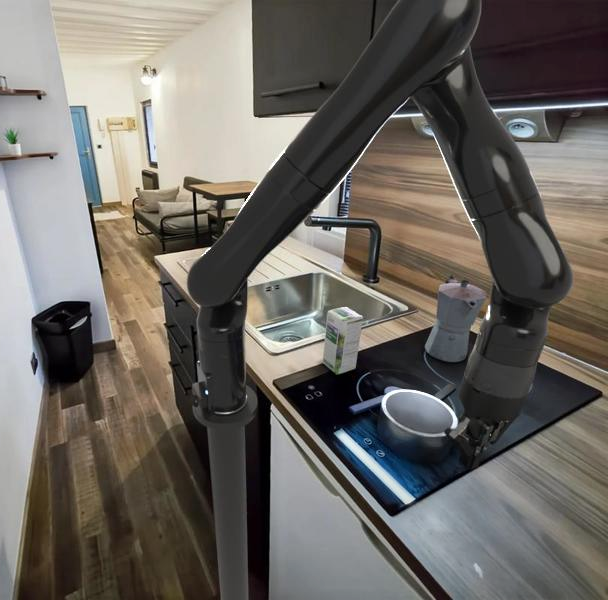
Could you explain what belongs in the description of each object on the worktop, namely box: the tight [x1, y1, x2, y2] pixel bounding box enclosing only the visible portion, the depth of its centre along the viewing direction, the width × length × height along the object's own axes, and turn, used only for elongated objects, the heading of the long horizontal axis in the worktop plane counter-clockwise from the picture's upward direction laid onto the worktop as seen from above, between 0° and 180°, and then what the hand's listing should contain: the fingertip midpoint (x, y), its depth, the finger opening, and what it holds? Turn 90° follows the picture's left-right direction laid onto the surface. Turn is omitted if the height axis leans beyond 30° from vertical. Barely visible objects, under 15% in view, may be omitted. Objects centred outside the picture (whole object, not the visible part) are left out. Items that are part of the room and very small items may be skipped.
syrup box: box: [322, 306, 364, 375], centre depth 85 cm, size 6×6×14 cm
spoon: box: [348, 386, 404, 415], centre depth 76 cm, size 14×4×1 cm, turn 110°
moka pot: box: [424, 275, 487, 363], centre depth 87 cm, size 10×15×20 cm, turn 172°
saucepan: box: [376, 383, 459, 463], centre depth 68 cm, size 19×12×6 cm, turn 124°
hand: (467, 464), depth 60 cm, fingers closed
